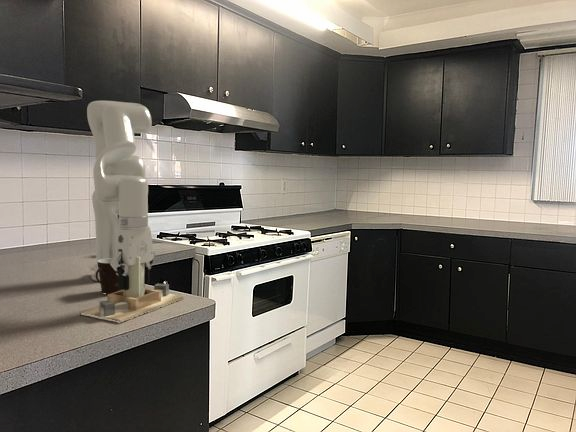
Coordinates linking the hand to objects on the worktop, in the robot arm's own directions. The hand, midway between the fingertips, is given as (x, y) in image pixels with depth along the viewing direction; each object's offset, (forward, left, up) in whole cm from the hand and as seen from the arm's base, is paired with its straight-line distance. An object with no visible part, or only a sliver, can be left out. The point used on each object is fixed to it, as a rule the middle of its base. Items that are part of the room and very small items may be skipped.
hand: (134, 285), depth 131 cm
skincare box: (0, 0, -4) cm, 4 cm away
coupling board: (0, 0, -6) cm, 6 cm away
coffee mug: (-17, +7, -6) cm, 19 cm away
